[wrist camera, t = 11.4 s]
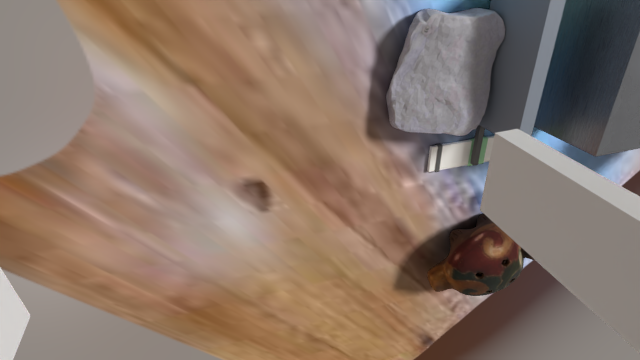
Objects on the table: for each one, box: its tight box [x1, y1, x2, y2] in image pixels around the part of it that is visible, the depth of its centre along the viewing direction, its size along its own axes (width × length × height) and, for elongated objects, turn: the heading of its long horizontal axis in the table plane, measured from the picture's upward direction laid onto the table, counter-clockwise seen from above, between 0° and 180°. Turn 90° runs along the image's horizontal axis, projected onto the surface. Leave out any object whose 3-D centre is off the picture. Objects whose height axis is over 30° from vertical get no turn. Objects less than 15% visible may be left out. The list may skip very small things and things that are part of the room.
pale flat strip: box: [427, 136, 494, 172], centre depth 45 cm, size 3×10×1 cm, turn 92°
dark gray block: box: [534, 0, 640, 157], centre depth 38 cm, size 16×6×10 cm, turn 2°
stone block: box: [386, 8, 506, 136], centre depth 38 cm, size 12×5×10 cm
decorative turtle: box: [427, 214, 535, 296], centre depth 50 cm, size 10×15×8 cm, turn 124°
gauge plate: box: [470, 0, 566, 165], centre depth 38 cm, size 19×2×7 cm, turn 2°
